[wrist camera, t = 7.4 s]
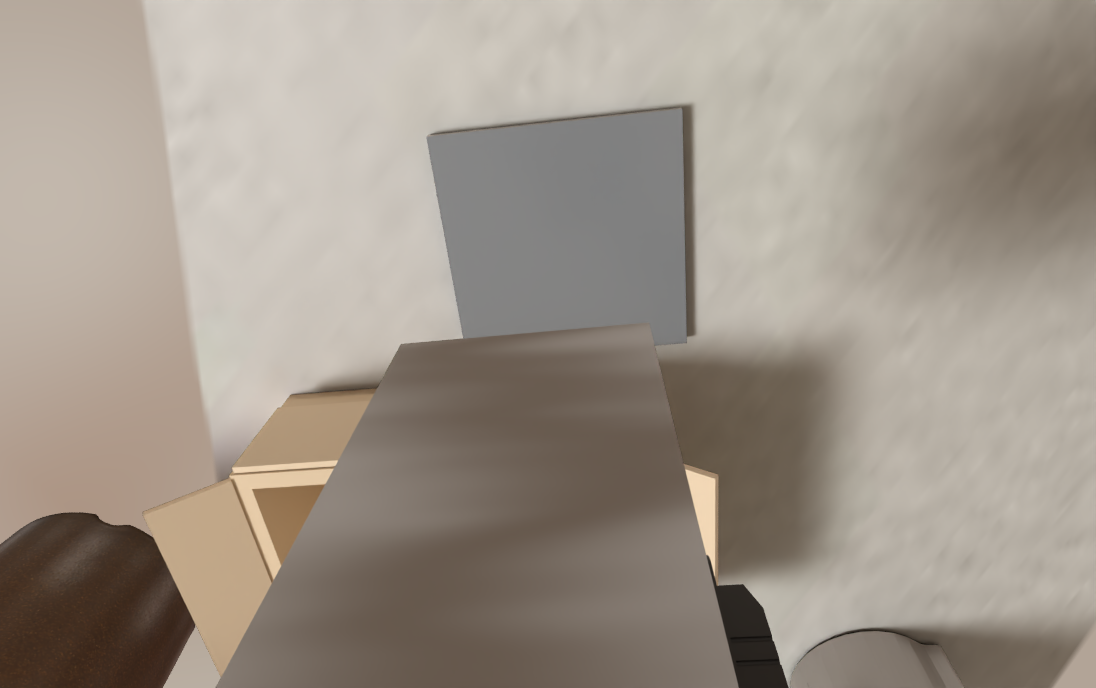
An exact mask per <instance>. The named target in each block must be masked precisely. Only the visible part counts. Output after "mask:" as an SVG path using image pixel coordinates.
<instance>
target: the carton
mask: <svg viewBox="0 0 1096 688" xmlns="http://www.w3.org/2000/svg"><path fill="white" fill-rule="evenodd" d="M376 390H377V388H373V389H360V390H347V391H334V392H321V393H309V394H296V395H290V396H289V398H288V399H287V400H286V401H285V403H284V404H283V405H282V407H281V408H277V410H276V411H275V412H274V413H273V415H272V416H271V417H270V419H269V420H268V421H267V423H266V424H265V425H264V426H263V428H262V429H261V430H260V432H259V433H258V434H257V436H256V437H255V438H254V439H253V441H252V442H251V443H250V445H249V446H248V447H247V449H246V450H245V451H244V453H243V454H242V455H241V456H240V458H239V459H238V460H237V462H236V463H235V464H234V466H233V467H232V469H233V471H232V473H231V474H230V475H229V477H230V478H228V479H226V480H223V481H221V482H218V483H215V484H213V485H210V486H208V487H205V488H203V489H200V490H198V491H195V492H193V493H190V494H188V495H185V496H182V497H180V498H177V499H175V500H172V501H169V502H167V503H164V504H162V505H159V506H157V507H154V508H151V509H149V510H146V511H144V512H143V517H144V519H145V521H146V523H147V525H148V527H149V529H150V531H151V533H152V535H153V538H154V540H155V542H156V544H157V546H158V548H159V550H160V552H161V554H162V556H163V558H164V560H165V562H166V564H167V567H168V569H169V571H170V573H171V575H172V577H173V579H174V581H175V583H176V585H177V587H178V589H179V591H180V593H181V596H182V598H183V600H184V602H185V604H186V606H187V608H188V610H189V612H190V614H191V616H192V618H193V620H194V623H195V625H196V627H197V628H198V631H199V633H200V635H201V637H202V639H203V641H204V643H205V645H206V647H207V649H208V652H209V653H210V656H211V658H212V660H213V662H214V664H215V666H216V668H217V670H218V672H219V674H220V676H221V677H222V675H223V673H224V671H225V669H226V668H227V666H228V664H229V662H230V660H231V658H232V656H233V655H234V653H235V651H236V649H237V647H238V645H239V643H240V642H241V640H242V638H243V636H244V634H245V632H246V630H247V629H248V627H249V625H250V623H251V621H252V619H253V617H254V616H255V614H256V612H257V610H258V608H259V606H260V605H261V603H262V601H263V599H264V597H265V595H266V593H267V592H268V590H269V588H270V586H271V584H272V582H273V580H274V579H275V577H276V575H277V573H278V571H279V569H280V567H281V566H282V564H283V562H284V560H285V558H286V556H287V554H288V553H289V551H290V549H291V547H292V545H293V543H294V542H295V540H296V538H297V536H298V534H299V532H300V530H301V529H302V527H303V525H304V523H305V521H306V519H307V517H308V516H309V514H310V512H311V510H312V508H313V506H314V504H315V503H316V501H317V499H318V497H319V495H320V493H321V491H322V490H323V488H324V486H325V484H326V482H327V480H328V479H329V477H330V475H331V473H332V471H333V469H334V467H335V466H336V464H337V462H338V460H339V458H340V456H341V454H342V453H343V451H344V449H345V447H346V445H347V443H348V441H349V440H350V438H351V436H352V434H353V432H354V430H355V428H356V427H357V425H358V423H359V421H360V419H361V417H362V416H363V414H364V412H365V410H366V408H367V406H368V404H369V403H370V401H371V399H372V397H373V395H374V393H375V391H376ZM684 467H685V471H686V475H687V479H688V483H689V487H690V491H691V495H692V499H693V503H694V507H695V512H696V516H697V520H698V524H699V528H700V532H701V536H702V540H703V544H704V548H705V552H706V555H708V556H709V557H710V560H711V564H712V568H713V572H714V576H715V580H716V584H717V586H718V481H719V475H718V474H715V473H711V472H708V471H705V470H702V469H699V468H696V467H693V466H689V465H686V464H684Z"/></svg>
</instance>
